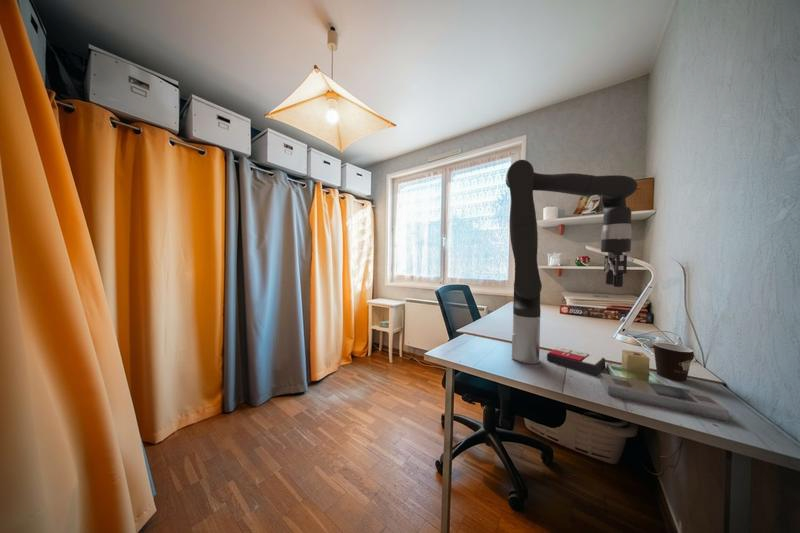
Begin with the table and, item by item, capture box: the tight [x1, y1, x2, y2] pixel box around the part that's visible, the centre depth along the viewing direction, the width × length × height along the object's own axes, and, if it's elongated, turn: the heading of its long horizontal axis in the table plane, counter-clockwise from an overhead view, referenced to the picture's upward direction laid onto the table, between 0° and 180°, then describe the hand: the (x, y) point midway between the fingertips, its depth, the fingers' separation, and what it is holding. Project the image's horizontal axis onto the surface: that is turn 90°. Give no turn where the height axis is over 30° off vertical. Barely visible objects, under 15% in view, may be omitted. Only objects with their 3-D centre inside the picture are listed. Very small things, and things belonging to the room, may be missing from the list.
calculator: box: [546, 346, 606, 377], centre depth 86 cm, size 11×4×15 cm
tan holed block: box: [621, 349, 651, 382], centre depth 75 cm, size 5×5×8 cm
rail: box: [599, 372, 730, 422], centre depth 65 cm, size 22×9×3 cm, turn 61°
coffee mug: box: [652, 341, 695, 383], centre depth 77 cm, size 12×9×10 cm
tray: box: [606, 364, 666, 385], centre depth 75 cm, size 11×11×2 cm
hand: (613, 285), depth 80 cm, fingers open, 8 cm apart
